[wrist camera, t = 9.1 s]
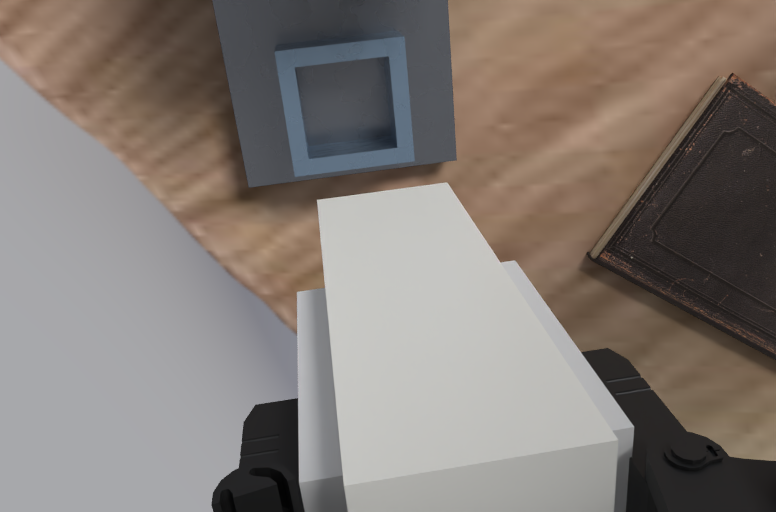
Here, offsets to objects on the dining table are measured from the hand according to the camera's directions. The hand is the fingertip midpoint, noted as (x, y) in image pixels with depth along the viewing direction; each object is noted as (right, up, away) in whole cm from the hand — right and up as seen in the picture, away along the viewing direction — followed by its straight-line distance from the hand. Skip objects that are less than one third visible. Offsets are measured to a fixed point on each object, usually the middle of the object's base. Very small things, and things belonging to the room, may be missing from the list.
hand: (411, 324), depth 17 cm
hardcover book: (+28, +4, +37) cm, 47 cm away
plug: (-1, +2, +4) cm, 5 cm away
